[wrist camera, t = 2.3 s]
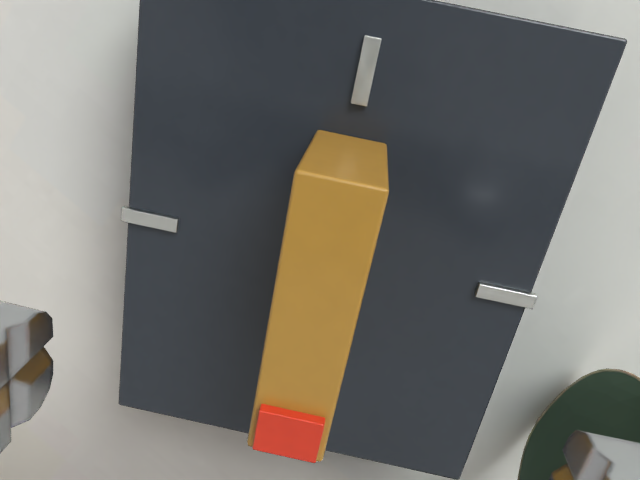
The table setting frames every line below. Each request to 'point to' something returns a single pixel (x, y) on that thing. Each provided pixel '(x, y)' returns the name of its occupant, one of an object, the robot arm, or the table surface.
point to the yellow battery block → (318, 292)
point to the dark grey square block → (399, 216)
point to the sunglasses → (583, 419)
